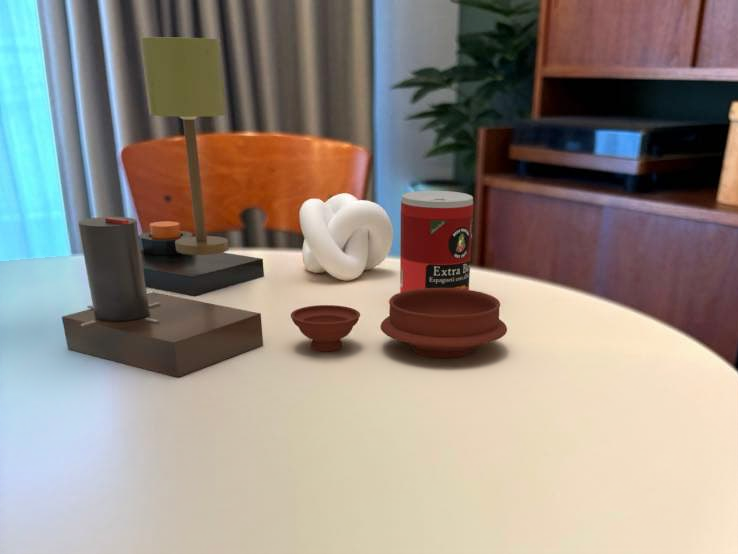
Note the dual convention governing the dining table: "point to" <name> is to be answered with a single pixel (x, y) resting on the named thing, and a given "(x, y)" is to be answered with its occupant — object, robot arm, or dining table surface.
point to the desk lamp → (187, 110)
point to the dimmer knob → (114, 268)
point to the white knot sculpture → (344, 235)
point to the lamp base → (193, 267)
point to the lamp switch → (165, 229)
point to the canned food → (435, 240)
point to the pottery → (414, 321)
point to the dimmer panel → (167, 335)
